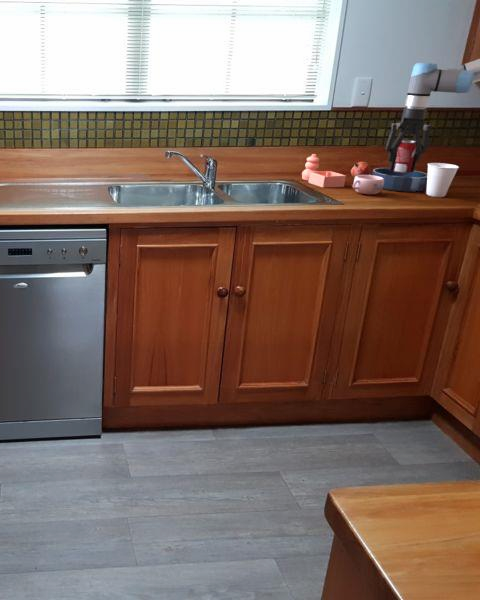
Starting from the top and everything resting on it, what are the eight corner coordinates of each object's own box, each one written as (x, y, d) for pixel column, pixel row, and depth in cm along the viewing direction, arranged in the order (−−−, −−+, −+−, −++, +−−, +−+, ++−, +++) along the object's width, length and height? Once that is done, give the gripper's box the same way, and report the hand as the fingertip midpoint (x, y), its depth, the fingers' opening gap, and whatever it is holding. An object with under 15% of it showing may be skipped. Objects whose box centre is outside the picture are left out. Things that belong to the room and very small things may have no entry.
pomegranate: (358, 182, 250) (342, 167, 247) (372, 169, 247) (357, 153, 244) (365, 188, 244) (349, 173, 241) (380, 174, 241) (364, 159, 238)
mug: (366, 189, 229) (370, 173, 226) (387, 195, 220) (391, 179, 218) (341, 191, 225) (344, 175, 222) (361, 197, 216) (365, 181, 214)
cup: (450, 200, 216) (458, 169, 211) (419, 196, 220) (426, 165, 216) (451, 195, 223) (459, 164, 219) (421, 191, 228) (428, 161, 224)
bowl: (415, 183, 242) (418, 169, 240) (432, 193, 224) (436, 179, 222) (364, 180, 245) (367, 166, 242) (377, 190, 227) (381, 176, 225)
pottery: (343, 186, 232) (349, 160, 229) (322, 187, 230) (327, 161, 226) (315, 177, 248) (319, 152, 244) (295, 177, 246) (299, 153, 242)
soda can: (405, 175, 228) (413, 143, 223) (387, 172, 233) (394, 140, 228) (413, 173, 232) (420, 141, 227) (395, 170, 237) (402, 139, 232)
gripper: (440, 108, 225) (424, 170, 234) (384, 105, 228) (371, 167, 237) (448, 110, 218) (431, 174, 227) (390, 107, 221) (376, 170, 230)
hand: (400, 170), depth 232 cm, fingers closed on soda can, 7 cm apart
